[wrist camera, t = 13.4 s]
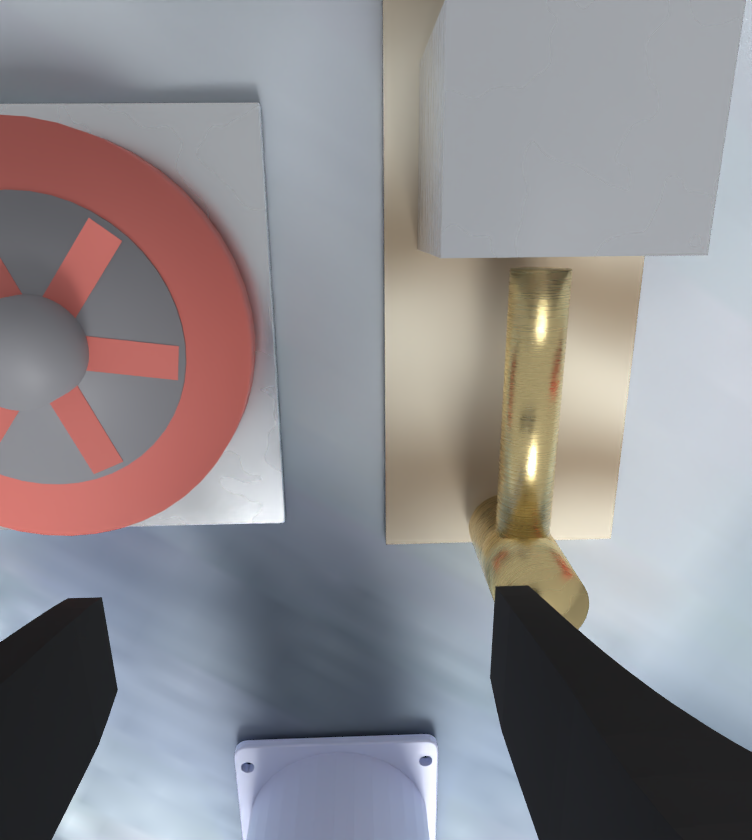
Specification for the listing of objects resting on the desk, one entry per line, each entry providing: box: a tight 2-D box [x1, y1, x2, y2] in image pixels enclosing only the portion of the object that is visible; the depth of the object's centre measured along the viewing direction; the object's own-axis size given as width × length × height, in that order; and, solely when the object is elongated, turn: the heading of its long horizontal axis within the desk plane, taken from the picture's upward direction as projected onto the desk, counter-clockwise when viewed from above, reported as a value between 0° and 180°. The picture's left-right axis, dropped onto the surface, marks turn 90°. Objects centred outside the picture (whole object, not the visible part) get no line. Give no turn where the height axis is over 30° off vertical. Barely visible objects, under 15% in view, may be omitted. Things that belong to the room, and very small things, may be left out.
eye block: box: [418, 0, 746, 258], centre depth 15 cm, size 5×6×5 cm
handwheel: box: [0, 115, 255, 536], centre depth 17 cm, size 12×12×4 cm
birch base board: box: [383, 0, 645, 545], centre depth 19 cm, size 19×8×1 cm, turn 0°
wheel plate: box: [0, 103, 286, 530], centre depth 19 cm, size 13×13×1 cm
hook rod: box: [469, 267, 589, 629], centre depth 17 cm, size 10×2×5 cm, turn 0°
